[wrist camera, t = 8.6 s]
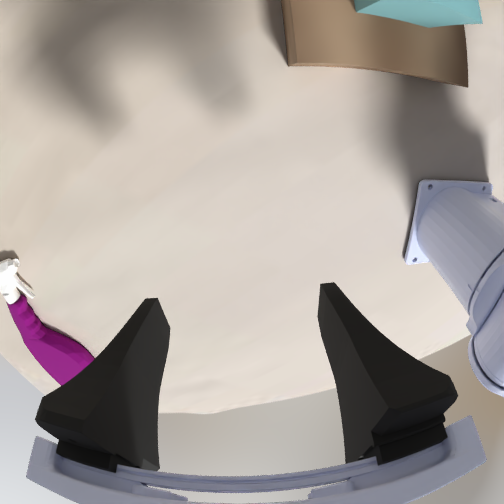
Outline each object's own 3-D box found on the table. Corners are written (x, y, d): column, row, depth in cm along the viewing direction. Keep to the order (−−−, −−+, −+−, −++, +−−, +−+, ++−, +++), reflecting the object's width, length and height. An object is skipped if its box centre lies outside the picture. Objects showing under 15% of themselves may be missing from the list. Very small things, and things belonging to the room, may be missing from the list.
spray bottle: (73, 382, 36) (-16, 261, 22) (125, 386, 35) (28, 248, 22) (68, 396, 33) (-29, 275, 20) (120, 403, 32) (13, 264, 19)
